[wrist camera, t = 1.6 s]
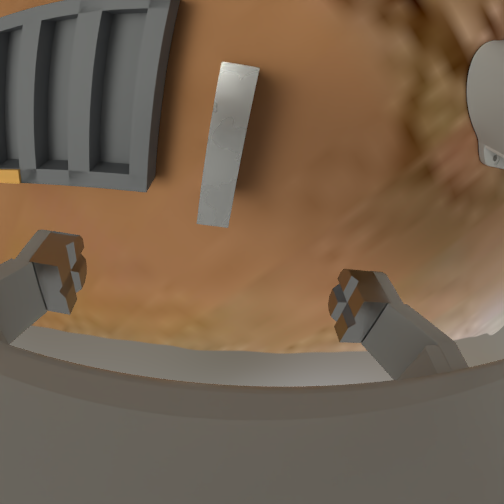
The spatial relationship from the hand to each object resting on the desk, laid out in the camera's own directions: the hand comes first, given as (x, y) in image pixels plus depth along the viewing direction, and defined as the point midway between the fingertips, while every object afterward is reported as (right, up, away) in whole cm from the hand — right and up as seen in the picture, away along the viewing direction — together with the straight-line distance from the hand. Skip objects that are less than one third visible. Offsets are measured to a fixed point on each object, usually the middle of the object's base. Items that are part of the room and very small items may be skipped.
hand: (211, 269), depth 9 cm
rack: (-16, +16, +12) cm, 25 cm away
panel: (-1, +11, +16) cm, 20 cm away
